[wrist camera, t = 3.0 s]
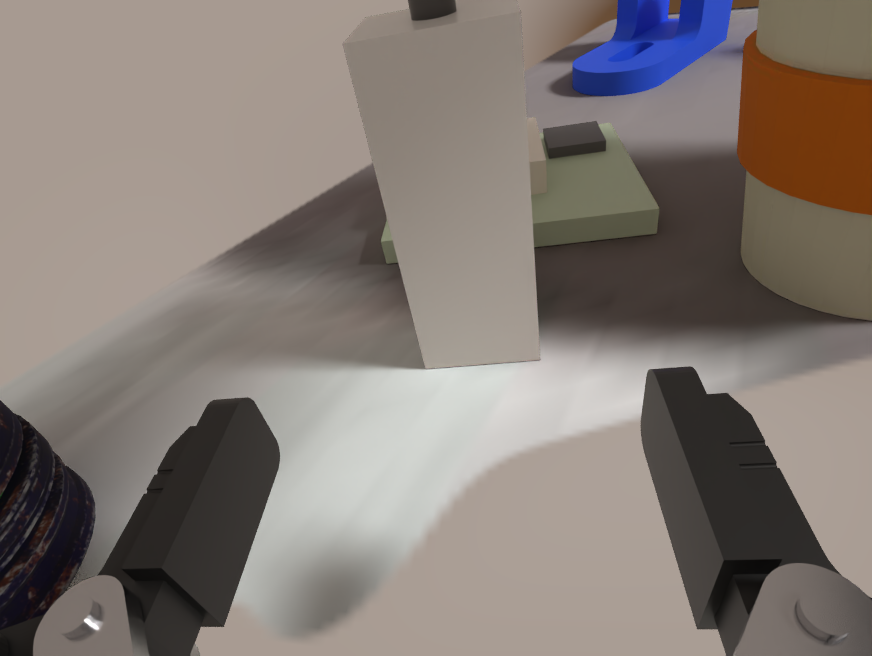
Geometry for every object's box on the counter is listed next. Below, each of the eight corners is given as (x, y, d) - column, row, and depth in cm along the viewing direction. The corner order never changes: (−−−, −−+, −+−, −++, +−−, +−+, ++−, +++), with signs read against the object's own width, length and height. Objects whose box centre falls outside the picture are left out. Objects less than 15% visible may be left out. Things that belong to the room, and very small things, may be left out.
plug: (531, 293, 26) (503, -149, 15) (540, 359, 22) (511, -161, 12) (432, 302, 26) (342, -112, 16) (425, 368, 23) (302, -112, 12)
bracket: (647, 40, 57) (654, -59, 52) (725, 40, 52) (744, -70, 47) (555, 94, 49) (553, -19, 43) (639, 100, 44) (648, -26, 38)
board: (609, 143, 38) (611, 93, 35) (656, 233, 28) (663, 171, 26) (409, 171, 40) (399, 126, 38) (386, 263, 30) (371, 209, 28)
